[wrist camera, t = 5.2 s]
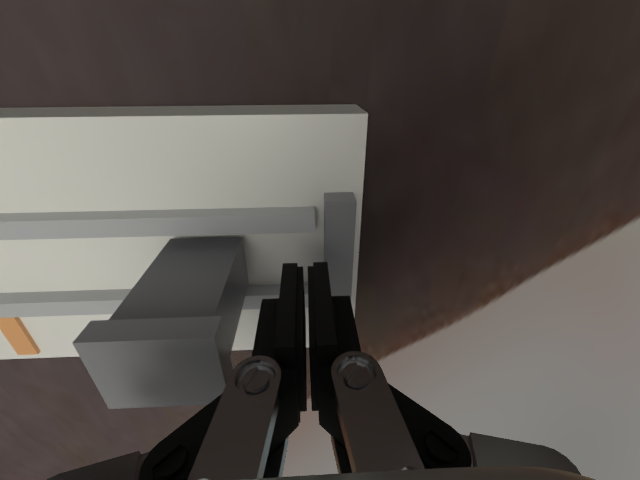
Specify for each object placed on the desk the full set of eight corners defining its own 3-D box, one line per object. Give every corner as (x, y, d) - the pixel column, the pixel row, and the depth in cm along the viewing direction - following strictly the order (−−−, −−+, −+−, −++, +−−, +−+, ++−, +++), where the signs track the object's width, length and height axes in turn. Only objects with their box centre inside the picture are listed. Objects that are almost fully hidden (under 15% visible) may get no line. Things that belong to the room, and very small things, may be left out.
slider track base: (356, 104, 14) (373, 117, 10) (346, 308, 20) (355, 360, 16) (-266, 110, 13) (-474, 127, 10) (-81, 323, 19) (-168, 381, 15)
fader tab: (248, 232, 13) (214, 337, 8) (255, 285, 15) (230, 403, 10) (162, 234, 13) (72, 342, 8) (177, 287, 14) (108, 409, 9)
